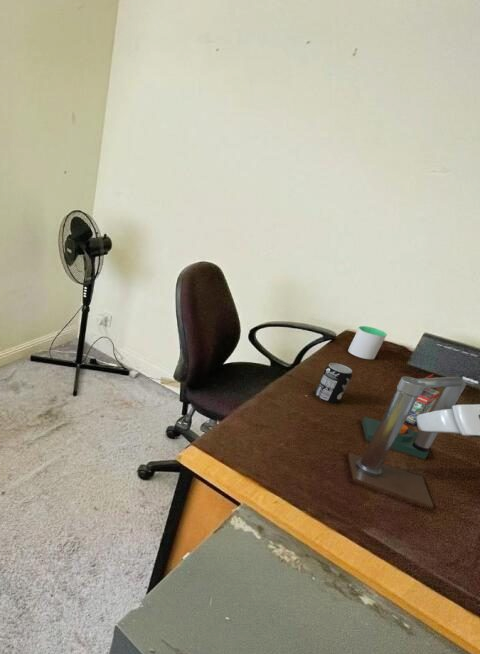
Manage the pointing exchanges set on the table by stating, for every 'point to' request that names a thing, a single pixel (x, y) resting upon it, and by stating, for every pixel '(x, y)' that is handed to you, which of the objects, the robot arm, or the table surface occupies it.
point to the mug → (367, 342)
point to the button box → (400, 443)
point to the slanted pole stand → (371, 464)
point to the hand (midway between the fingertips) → (442, 428)
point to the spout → (445, 402)
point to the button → (403, 429)
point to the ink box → (423, 403)
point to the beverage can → (333, 382)
